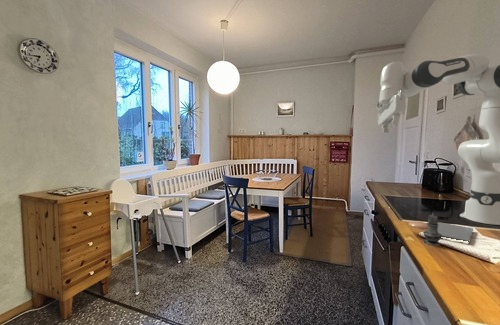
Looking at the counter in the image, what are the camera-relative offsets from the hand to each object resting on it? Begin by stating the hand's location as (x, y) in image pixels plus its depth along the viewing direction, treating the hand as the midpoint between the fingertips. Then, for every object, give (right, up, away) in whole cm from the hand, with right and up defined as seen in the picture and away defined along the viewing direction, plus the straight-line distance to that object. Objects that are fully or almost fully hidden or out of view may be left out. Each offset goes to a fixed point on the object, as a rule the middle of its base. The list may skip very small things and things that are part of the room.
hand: (390, 130), depth 101 cm
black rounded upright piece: (+11, -45, -8) cm, 47 cm away
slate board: (+26, -44, 0) cm, 51 cm away
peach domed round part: (+20, -43, +11) cm, 49 cm away
